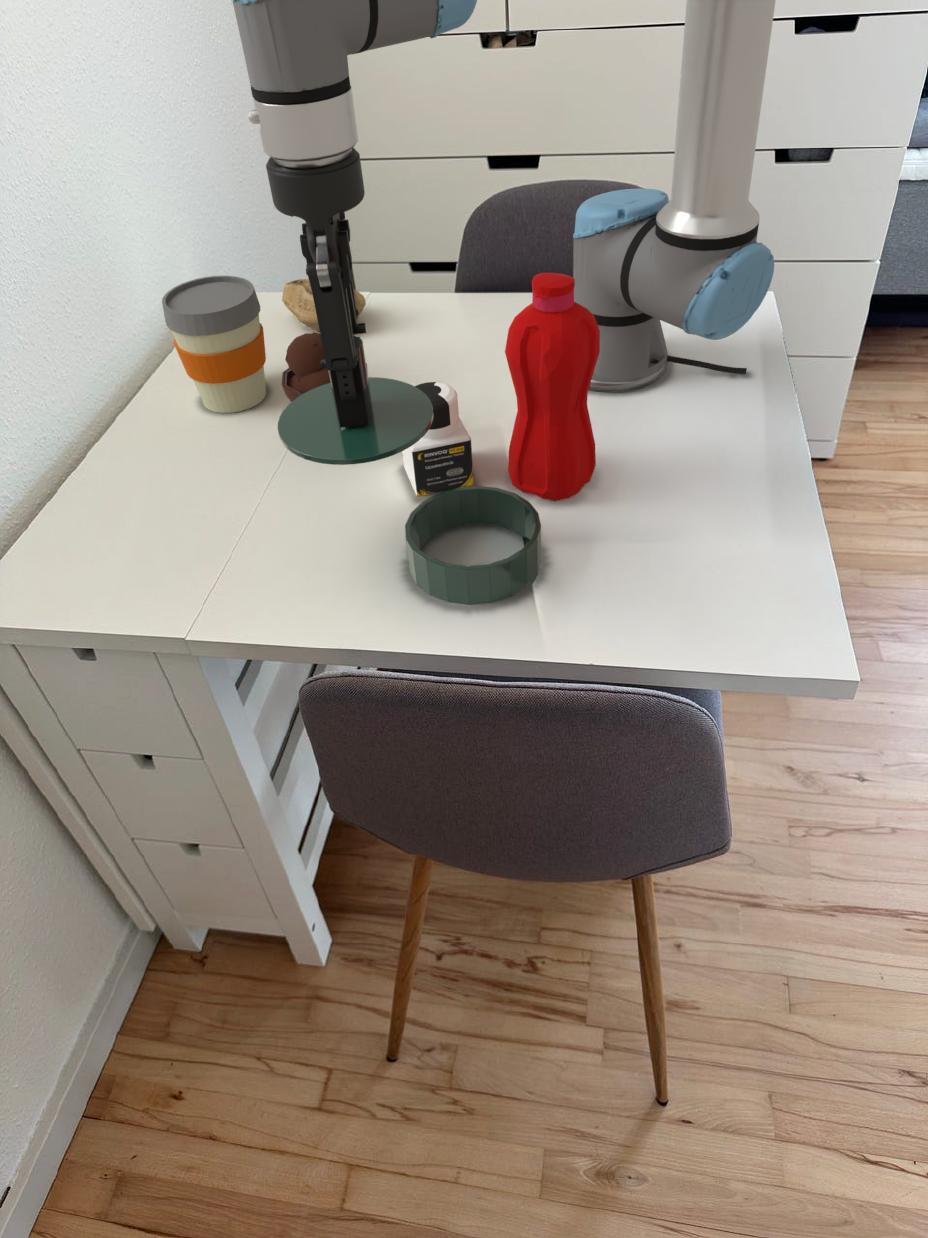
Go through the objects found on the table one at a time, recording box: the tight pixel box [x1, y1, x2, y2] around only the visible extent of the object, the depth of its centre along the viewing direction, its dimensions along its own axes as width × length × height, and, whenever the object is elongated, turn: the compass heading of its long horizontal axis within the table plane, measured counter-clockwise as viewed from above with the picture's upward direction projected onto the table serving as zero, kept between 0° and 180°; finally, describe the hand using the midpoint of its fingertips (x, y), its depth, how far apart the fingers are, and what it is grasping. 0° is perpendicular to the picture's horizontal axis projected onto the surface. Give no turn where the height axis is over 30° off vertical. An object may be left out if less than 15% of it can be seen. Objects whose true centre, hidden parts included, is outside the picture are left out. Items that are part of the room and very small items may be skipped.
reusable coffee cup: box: [161, 275, 267, 414], centre depth 123 cm, size 13×13×15 cm
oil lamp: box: [281, 278, 367, 333], centre depth 141 cm, size 11×15×8 cm
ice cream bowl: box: [281, 332, 369, 403], centre depth 113 cm, size 11×11×15 cm
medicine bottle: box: [401, 381, 475, 497], centre depth 107 cm, size 7×7×12 cm
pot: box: [404, 485, 542, 606], centre depth 97 cm, size 14×14×5 cm
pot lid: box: [277, 335, 433, 466], centre depth 86 cm, size 15×15×9 cm
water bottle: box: [504, 272, 600, 502], centre depth 101 cm, size 9×11×25 cm
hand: (355, 411), depth 88 cm, fingers closed on pot lid, 4 cm apart
